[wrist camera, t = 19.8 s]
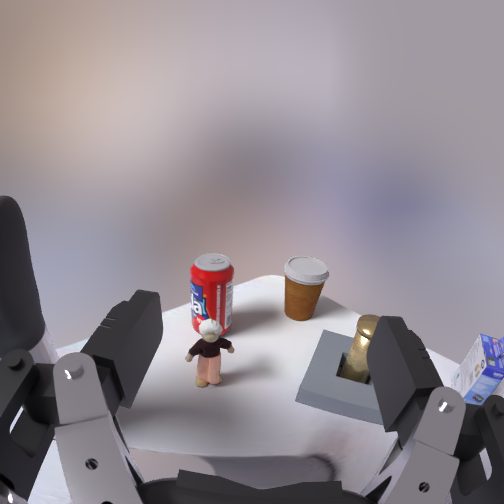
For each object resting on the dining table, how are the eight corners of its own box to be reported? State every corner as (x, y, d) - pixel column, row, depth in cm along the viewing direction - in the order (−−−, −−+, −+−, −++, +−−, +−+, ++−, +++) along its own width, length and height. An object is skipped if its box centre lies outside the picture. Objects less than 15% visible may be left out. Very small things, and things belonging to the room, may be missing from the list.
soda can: (234, 338, 56) (238, 270, 49) (193, 341, 54) (191, 272, 47) (227, 314, 62) (230, 250, 56) (190, 316, 60) (189, 251, 54)
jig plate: (295, 401, 42) (299, 387, 41) (319, 342, 56) (323, 329, 54) (387, 426, 37) (396, 413, 35) (394, 363, 50) (400, 350, 49)
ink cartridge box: (473, 419, 35) (516, 361, 29) (450, 414, 37) (492, 355, 31) (471, 383, 43) (505, 328, 37) (450, 378, 45) (483, 321, 39)
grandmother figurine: (195, 394, 42) (191, 336, 37) (185, 378, 45) (180, 320, 40) (237, 378, 46) (241, 320, 41) (225, 364, 49) (228, 306, 44)
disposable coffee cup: (270, 304, 67) (276, 257, 62) (306, 298, 71) (315, 253, 66) (288, 329, 59) (298, 279, 54) (327, 320, 63) (339, 273, 58)
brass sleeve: (333, 388, 45) (356, 330, 40) (339, 368, 49) (359, 311, 44) (363, 396, 43) (390, 339, 38) (366, 375, 48) (391, 319, 42)
